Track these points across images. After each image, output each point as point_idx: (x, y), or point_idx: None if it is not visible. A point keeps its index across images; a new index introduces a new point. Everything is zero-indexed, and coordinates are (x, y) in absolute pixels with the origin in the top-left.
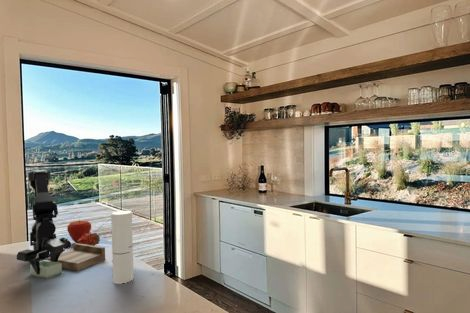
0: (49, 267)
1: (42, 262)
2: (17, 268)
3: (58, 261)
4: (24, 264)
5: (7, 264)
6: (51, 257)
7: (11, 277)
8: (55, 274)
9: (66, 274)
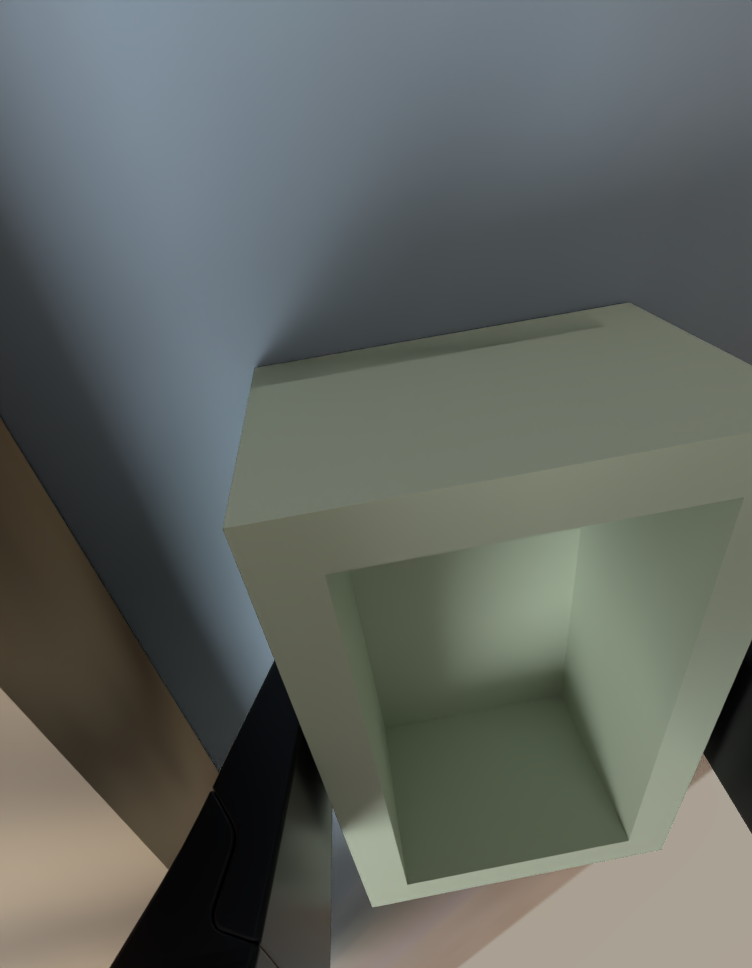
0: (747, 430)
1: (439, 849)
2: None
3: (142, 796)
4: (392, 911)
5: (463, 949)
6: (323, 935)
7: None
8: (429, 347)
9: (209, 139)
